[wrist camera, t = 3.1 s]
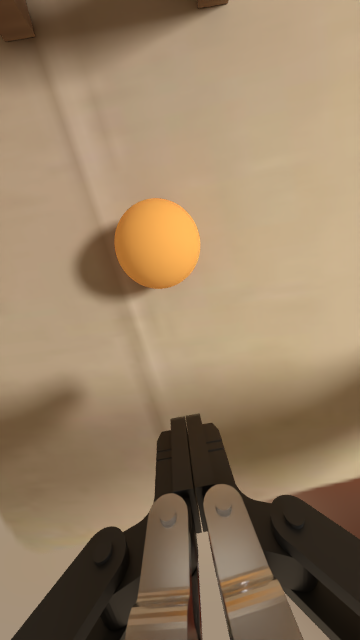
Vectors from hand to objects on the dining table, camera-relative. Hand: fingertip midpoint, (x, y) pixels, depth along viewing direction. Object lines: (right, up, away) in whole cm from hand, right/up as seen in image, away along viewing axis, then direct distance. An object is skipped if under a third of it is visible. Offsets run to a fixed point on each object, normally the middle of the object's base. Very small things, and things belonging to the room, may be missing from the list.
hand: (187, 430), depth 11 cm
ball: (-2, +11, +4) cm, 12 cm away
